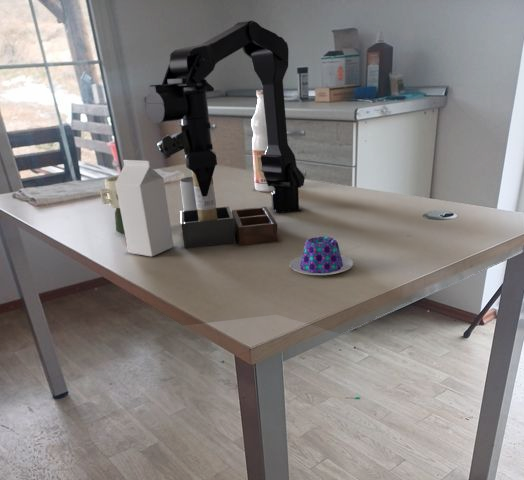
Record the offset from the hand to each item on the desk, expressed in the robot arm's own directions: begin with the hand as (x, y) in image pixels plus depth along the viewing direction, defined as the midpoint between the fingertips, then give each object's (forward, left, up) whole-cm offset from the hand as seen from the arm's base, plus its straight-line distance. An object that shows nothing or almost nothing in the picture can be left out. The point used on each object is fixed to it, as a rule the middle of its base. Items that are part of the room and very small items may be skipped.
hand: (204, 193), depth 116 cm
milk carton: (+13, +5, -10) cm, 17 cm away
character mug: (+19, -12, -10) cm, 25 cm away
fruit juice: (-22, -47, -10) cm, 53 cm away
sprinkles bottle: (0, 0, -7) cm, 7 cm away
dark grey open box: (0, 0, -10) cm, 10 cm away
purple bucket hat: (-20, +27, -10) cm, 35 cm away
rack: (-11, 0, -10) cm, 15 cm away
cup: (+1, -19, -10) cm, 22 cm away
